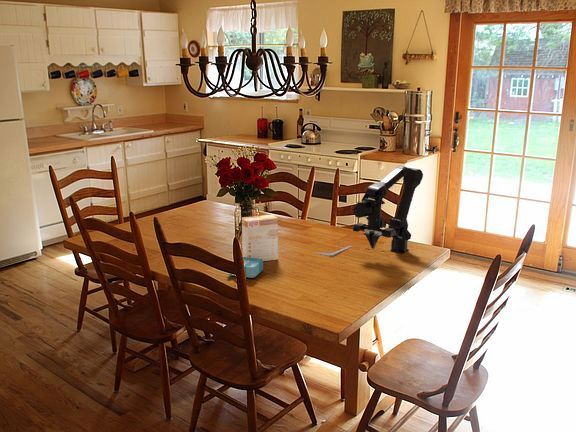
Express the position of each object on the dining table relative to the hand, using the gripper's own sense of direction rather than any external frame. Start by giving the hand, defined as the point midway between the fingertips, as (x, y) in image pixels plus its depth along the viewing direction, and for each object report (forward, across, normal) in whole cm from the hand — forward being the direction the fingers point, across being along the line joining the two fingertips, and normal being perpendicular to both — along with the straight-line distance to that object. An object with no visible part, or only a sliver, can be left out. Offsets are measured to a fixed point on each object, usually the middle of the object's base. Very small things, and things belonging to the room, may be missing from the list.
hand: (373, 248), depth 240 cm
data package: (+3, +28, +45) cm, 54 cm away
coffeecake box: (+5, +40, +31) cm, 51 cm away
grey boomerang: (+5, +24, 0) cm, 25 cm away
